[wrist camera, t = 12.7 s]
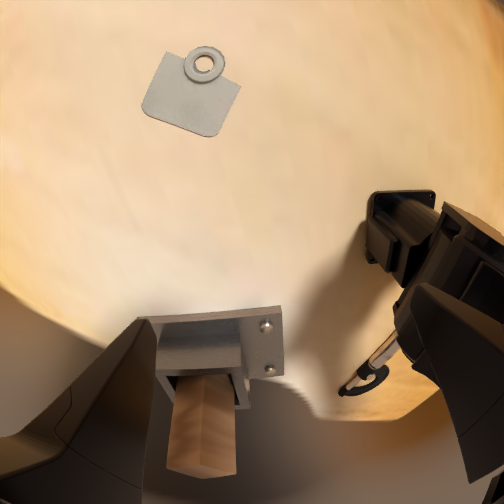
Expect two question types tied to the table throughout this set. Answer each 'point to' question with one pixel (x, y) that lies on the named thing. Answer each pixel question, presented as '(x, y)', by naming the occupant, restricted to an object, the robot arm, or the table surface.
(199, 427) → the rail post
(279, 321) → the cup bracket
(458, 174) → the table surface
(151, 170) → the table surface
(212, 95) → the mounting bracket
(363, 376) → the micrometer
